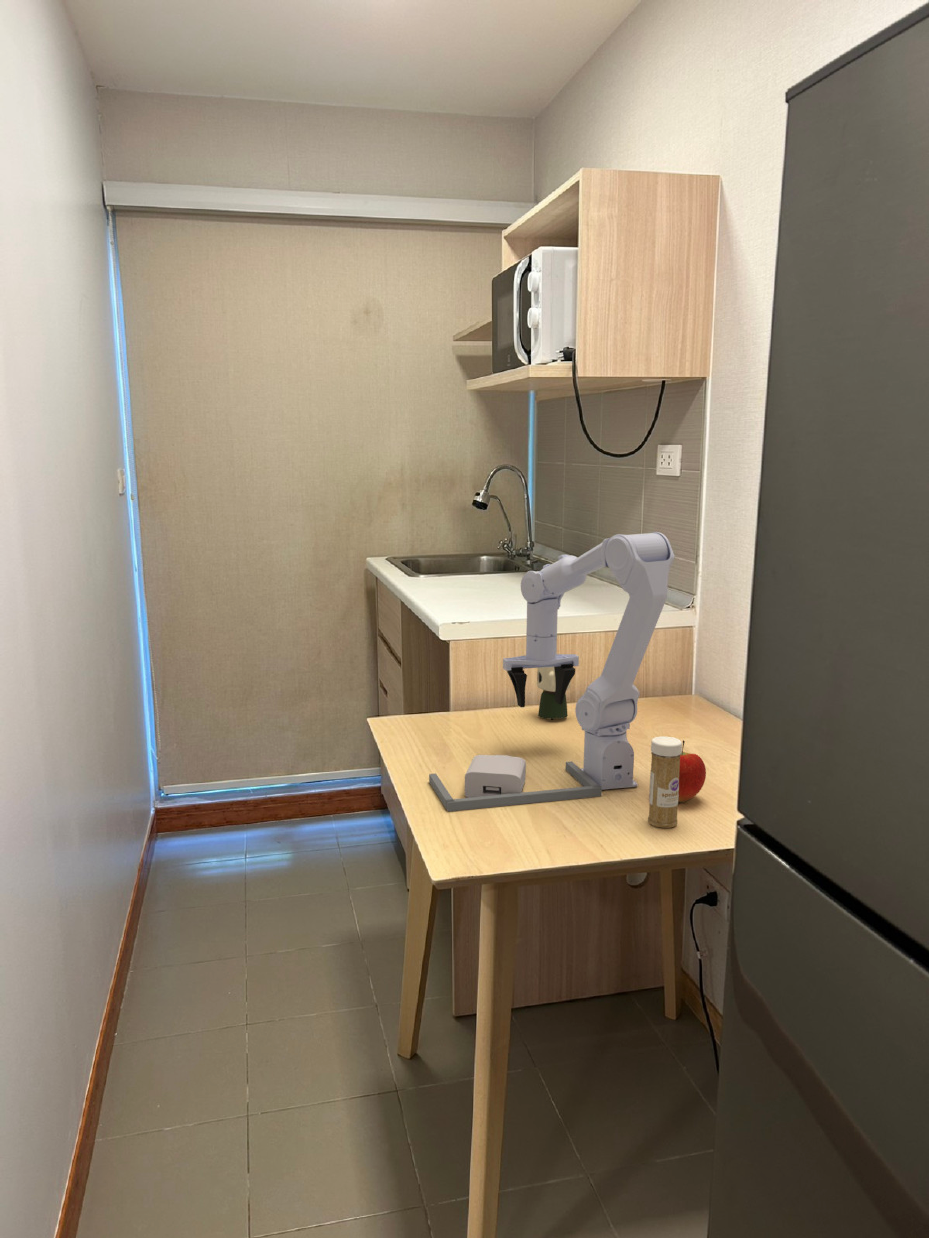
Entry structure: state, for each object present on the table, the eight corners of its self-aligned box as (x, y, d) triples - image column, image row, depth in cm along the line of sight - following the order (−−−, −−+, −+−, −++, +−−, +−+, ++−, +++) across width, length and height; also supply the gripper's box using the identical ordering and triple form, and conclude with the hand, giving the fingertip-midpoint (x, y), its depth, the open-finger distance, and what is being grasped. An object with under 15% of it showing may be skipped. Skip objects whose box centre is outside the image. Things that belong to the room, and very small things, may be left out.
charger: (529, 771, 161) (519, 802, 146) (478, 767, 162) (464, 798, 148) (529, 745, 160) (520, 775, 145) (478, 742, 161) (464, 771, 147)
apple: (644, 800, 147) (646, 742, 145) (667, 786, 153) (670, 730, 151) (689, 813, 142) (692, 753, 140) (711, 798, 148) (715, 741, 146)
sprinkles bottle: (668, 831, 135) (673, 746, 132) (642, 823, 138) (645, 740, 135) (682, 822, 138) (687, 739, 136) (656, 814, 141) (660, 733, 139)
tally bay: (601, 796, 149) (601, 787, 148) (447, 811, 142) (447, 802, 141) (571, 769, 161) (571, 761, 161) (429, 782, 154) (429, 773, 154)
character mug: (540, 709, 198) (541, 652, 195) (572, 712, 196) (573, 654, 194) (532, 724, 187) (533, 664, 185) (566, 726, 186) (568, 666, 183)
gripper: (569, 628, 173) (567, 696, 175) (498, 632, 169) (497, 701, 171) (584, 635, 166) (581, 706, 168) (510, 639, 162) (509, 711, 164)
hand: (540, 704), depth 169 cm, fingers open, 7 cm apart
